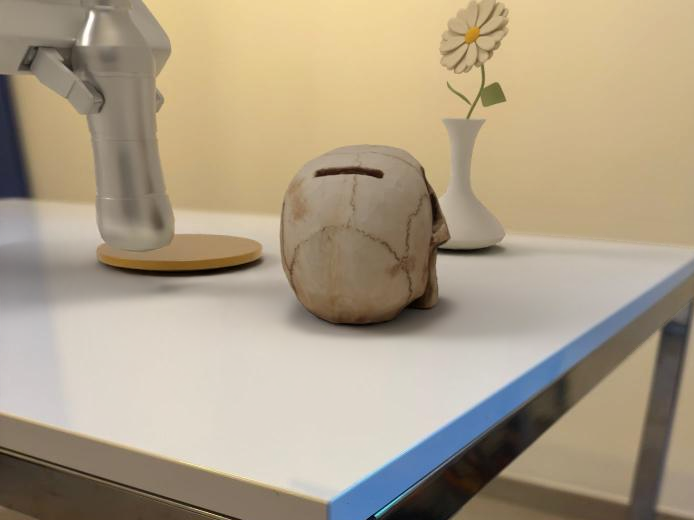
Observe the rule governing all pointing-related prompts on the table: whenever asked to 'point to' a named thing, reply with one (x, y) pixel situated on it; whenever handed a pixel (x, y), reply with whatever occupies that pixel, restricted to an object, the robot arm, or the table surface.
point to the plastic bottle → (123, 129)
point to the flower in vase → (470, 121)
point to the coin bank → (362, 234)
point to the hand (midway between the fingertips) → (126, 108)
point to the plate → (186, 254)
